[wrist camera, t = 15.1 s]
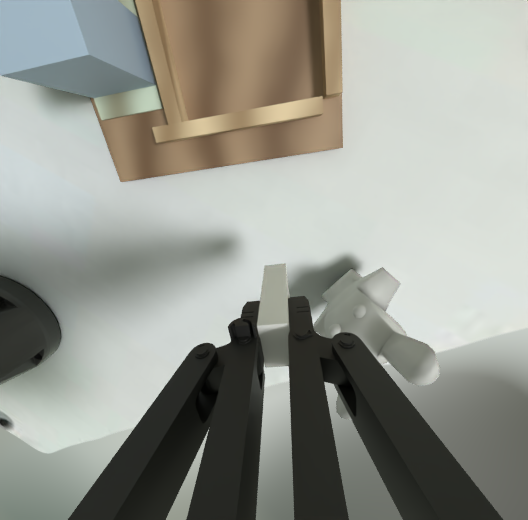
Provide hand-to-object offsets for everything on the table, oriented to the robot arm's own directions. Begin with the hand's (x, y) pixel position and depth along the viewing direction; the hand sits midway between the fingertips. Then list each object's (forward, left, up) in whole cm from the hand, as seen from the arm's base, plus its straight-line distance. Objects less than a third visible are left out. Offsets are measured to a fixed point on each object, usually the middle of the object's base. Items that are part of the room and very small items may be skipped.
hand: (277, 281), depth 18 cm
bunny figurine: (+7, -7, -11) cm, 14 cm away
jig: (-4, +17, -11) cm, 21 cm away
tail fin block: (-12, +17, -9) cm, 23 cm away
